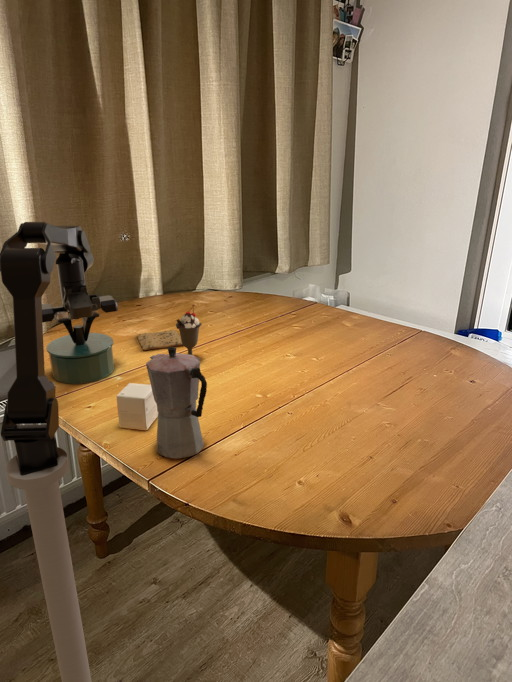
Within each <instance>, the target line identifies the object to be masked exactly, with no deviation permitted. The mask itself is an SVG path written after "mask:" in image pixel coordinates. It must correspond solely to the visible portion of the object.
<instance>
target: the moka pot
mask: <svg viewBox="0 0 512 682" xmlns="http://www.w3.org/2000/svg"><path fill="white" fill-rule="evenodd" d="M196 357H197V356H196ZM196 357H195V355H194V354H193V355H188V353H187V354H186V353H179V352H177V347H176V346H172V347H167V354H166V353H157V354H154V355H153V354H152V355H151V356H149V358H150V360H148V361H146V363H145V366H146V370H147V374H148V379H149V382H150V385H151V388H152V392H153V396H154V400H155V402H156V404H157V411H158V417H157V427H156V451H157V453H158V454H159V455H160V456H163V457H164V458H167V459H176V460H177V459H184V458H188V457H192V456H196V455H197V454H199V453H200V452H201V451H202V450H203V447H204V445H205V443H204V439H203V434H202V430H201V426H200V420H199V419H200V418H201V417H202V416H203V409H204V408H203V407H204V403H205V399H206V396H207V391H208V390H207V388H208V382H207V380H206V377H205V376H204V375H203V374H202V372H201V361H198V359H197V358H196ZM200 383H201V385H200ZM199 387H200V388H199ZM199 389H200V390H199ZM197 400H198V402H197ZM197 404H198V405H197Z"/></svg>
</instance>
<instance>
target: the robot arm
mask: <svg viewBox="0 0 512 682" xmlns="http://www.w3.org/2000/svg"><path fill="white" fill-rule="evenodd" d="M28 244H40V245H46V247H45V249H44V248H43V247H27V246H28ZM90 246H91V245H90V244H89V241H88V239H87V235H86V232H85V231H84V230H83V229H82V226H80V225H54V224H51V223H49V222H46V221H24V222H21V223H20V224H19V227H18V230H17V231H16V232H15V233H14V234H12V235H11V236H10V237H9V238H7V239H6V240H5V241H4V243H3V244H2V246H1V250H0V278H1V283H2V284H3V286H4V287H5V288H6V290H7V292H8V293H9V294H10V296H11V297H12V308H13V309H12V311H13V328H14V330H13V331H14V349H15V351H14V353H15V372H16V374H15V375H16V376H15V377H16V378H15V380H14V381H13V383H12V384H11V386H10V388H9V389H8V391H7V393H6V394H7V395H6V397H7V399H6V403H5V405H4V413H3V418H2V423H1V429H0V436H1V438H2V440H3V442H8V441H9V442H10V441H13V443H14V448H15V454H16V455H17V457H16V459H17V463H18V467H19V471H20V475H21V476H23V475H27V474H30V473H34V472H37V471H41V470H44V469H48V468H51V467H55V466H57V465H58V462H57V459H56V458H58V449H57V447H58V443H57V439H56V436H55V434H56V433H57V431H58V430H59V427H60V421H59V420H60V416H59V400H58V399H57V398H56V396H57V395H56V387H57V386H56V384H55V382H54V381H50V379H49V378H48V377H47V375H46V372H45V348H44V347H45V346H44V323H49V322H52V321H53V320H54V319H55V321H56V322H57V323H58V324H63V325H64V327H65V329H66V331H67V333H68V335H70V337H71V339H72V341H73V342H74V343H76V340H75V335H74V330H73V322H72V320H79V319H82V325H83V326H84V334H85V341H87V340H88V336H89V333H91V332H90V331H91V328H92V325H93V322H94V320H95V319H96V318H99V317H100V313H99V312H98V311H99V310H101V311H102V312H104V313H106V314H107V313H115V312H118V311H119V306H118V302H117V300H116V299H114V298H113V296H112V295H110V294H108V295H102V296H100V295H99V293H93V294H89V292H88V288H87V285H86V276H85V273H86V272H87V271H88V270H89V269H91V267H93V265H94V263H95V260H94V258H95V257H94V256H93V253H92V251H91V247H90ZM56 254H58V257H56V256H57V255H56ZM54 265H56V269H57V275H58V282H59V283H58V284H59V289H60V296H61V303H62V305H60V306H53V307H52V305H51V304H50V303H42V298H43V296H44V294H45V293H46V291H47V289H48V287H49V286H50V284H51V273H52V271H53V269H54ZM69 315H70V316H69Z"/></svg>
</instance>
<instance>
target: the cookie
mask: <svg viewBox="0 0 512 682" xmlns="http://www.w3.org/2000/svg"><path fill="white" fill-rule="evenodd" d="M136 338H137V341H138V343H139V345H140V346H141V349H142V351H149V350H155V349H164V348H170V347H178V346H179V347H180V346H183V345H182V341H181V336H180V334H179V333H178V332H177V330H174V329H173V330H172V329H169V330H163V331H156V332H154V331H153V332H144V333H138V334H136Z"/></svg>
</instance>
